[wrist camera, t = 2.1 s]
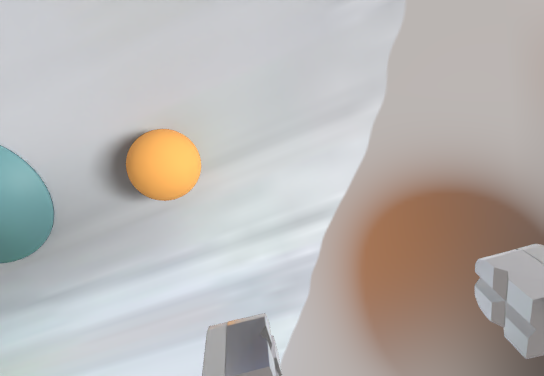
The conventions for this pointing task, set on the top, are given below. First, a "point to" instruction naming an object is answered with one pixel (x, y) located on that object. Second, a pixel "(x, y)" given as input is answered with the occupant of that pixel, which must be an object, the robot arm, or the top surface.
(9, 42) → the top surface
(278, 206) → the top surface
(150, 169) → the ball
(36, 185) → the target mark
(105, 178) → the top surface
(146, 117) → the top surface
